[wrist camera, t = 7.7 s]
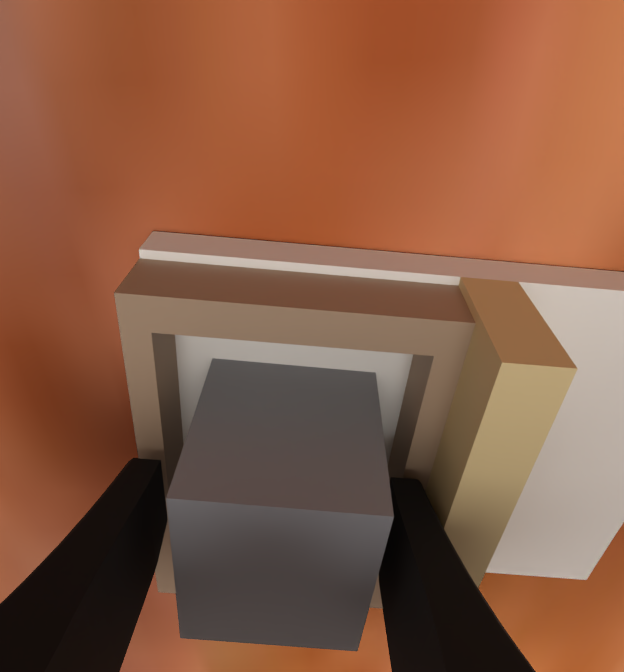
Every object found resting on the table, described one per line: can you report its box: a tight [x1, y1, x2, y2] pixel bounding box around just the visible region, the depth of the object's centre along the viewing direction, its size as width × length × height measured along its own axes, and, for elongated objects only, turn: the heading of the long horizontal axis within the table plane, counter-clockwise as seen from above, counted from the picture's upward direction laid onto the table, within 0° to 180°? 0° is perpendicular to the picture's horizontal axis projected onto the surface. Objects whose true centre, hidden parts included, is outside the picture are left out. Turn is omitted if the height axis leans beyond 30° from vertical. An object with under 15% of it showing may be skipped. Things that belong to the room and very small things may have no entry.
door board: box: [114, 231, 624, 608], centre depth 12 cm, size 13×10×4 cm
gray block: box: [166, 358, 394, 651], centre depth 11 cm, size 4×4×4 cm
